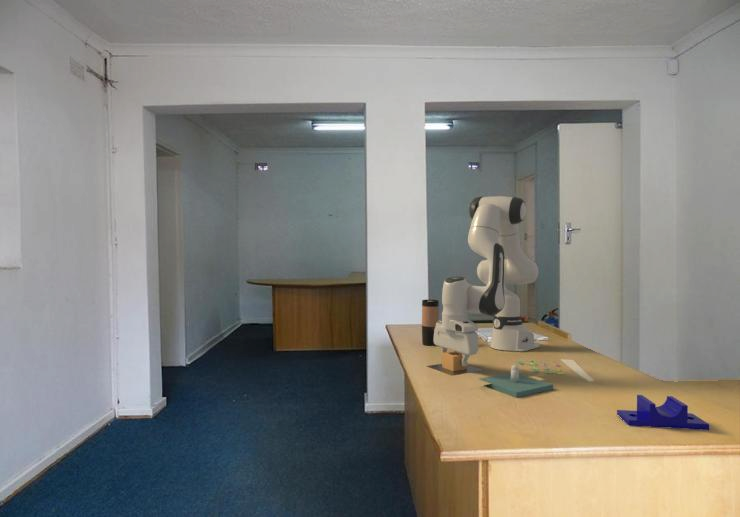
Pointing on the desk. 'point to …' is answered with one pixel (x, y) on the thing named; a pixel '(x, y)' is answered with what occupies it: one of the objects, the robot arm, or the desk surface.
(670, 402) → the mounting bracket
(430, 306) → the travel mug
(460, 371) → the stand
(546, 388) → the hub plate
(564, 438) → the desk surface
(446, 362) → the collar
